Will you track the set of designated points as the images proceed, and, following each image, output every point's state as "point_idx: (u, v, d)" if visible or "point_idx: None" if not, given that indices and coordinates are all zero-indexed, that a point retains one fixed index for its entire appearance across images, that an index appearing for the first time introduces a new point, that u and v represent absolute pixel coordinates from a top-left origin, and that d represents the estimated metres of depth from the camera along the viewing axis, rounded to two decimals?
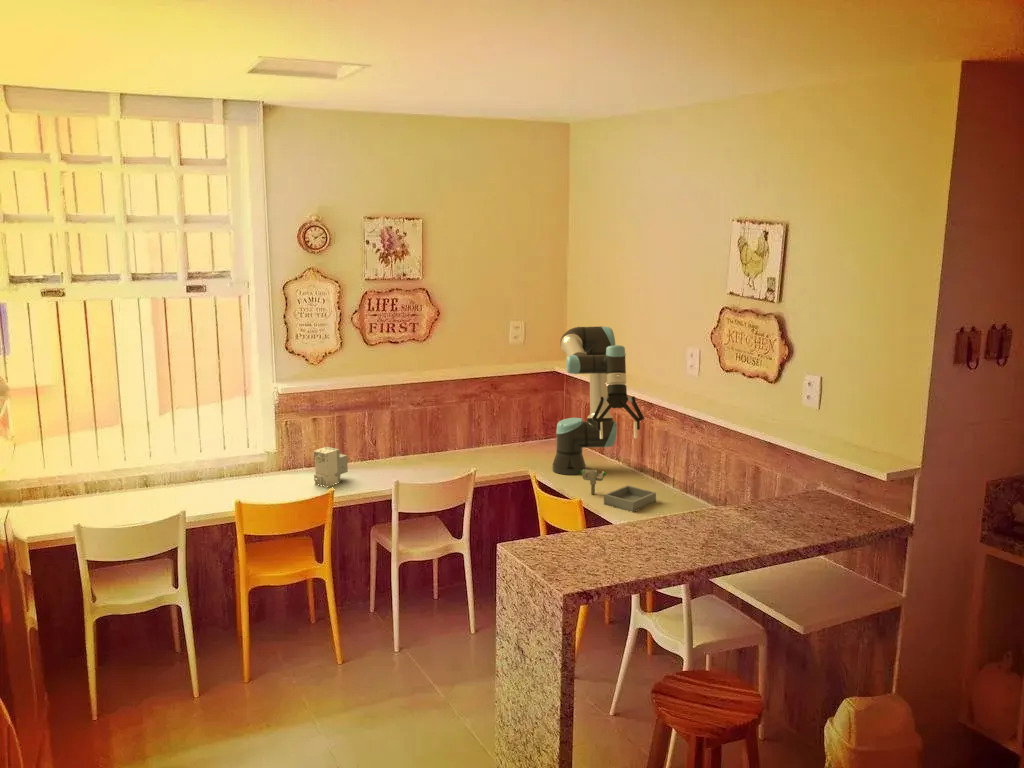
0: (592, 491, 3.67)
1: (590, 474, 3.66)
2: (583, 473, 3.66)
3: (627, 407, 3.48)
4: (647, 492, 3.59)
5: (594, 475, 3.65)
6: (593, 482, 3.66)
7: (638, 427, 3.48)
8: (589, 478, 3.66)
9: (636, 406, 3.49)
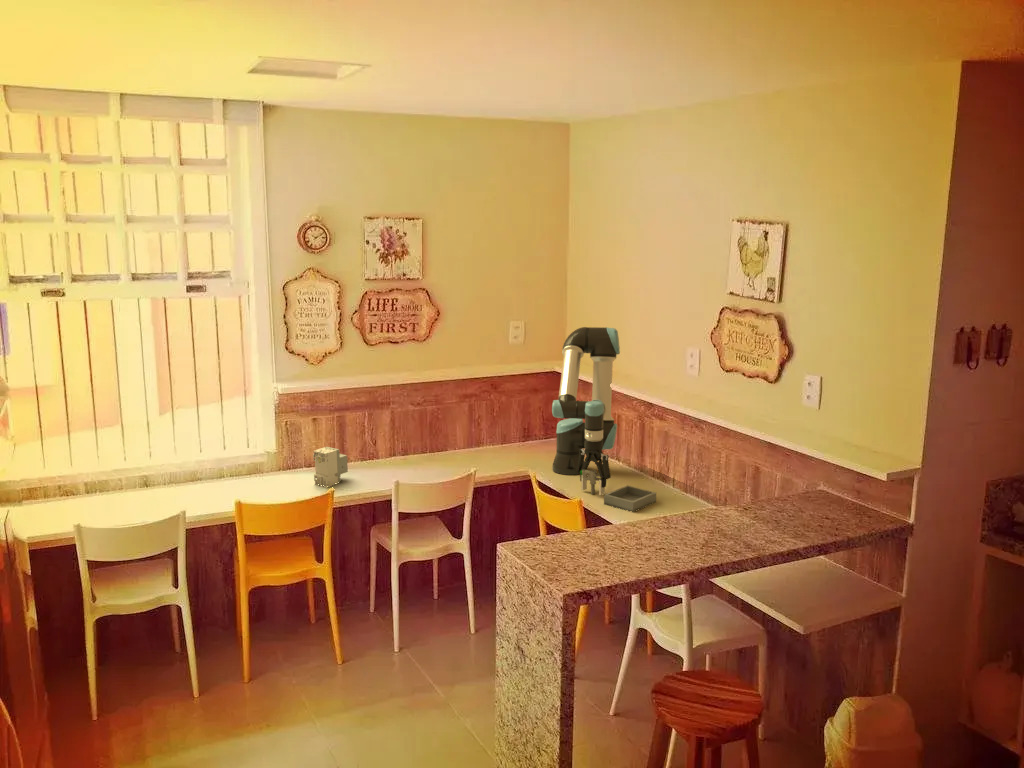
0: (592, 491, 3.67)
1: (590, 474, 3.66)
2: (583, 473, 3.66)
3: (596, 464, 3.63)
4: (647, 492, 3.59)
5: (594, 475, 3.65)
6: (593, 482, 3.66)
7: (603, 485, 3.63)
8: (589, 478, 3.66)
9: (604, 465, 3.61)
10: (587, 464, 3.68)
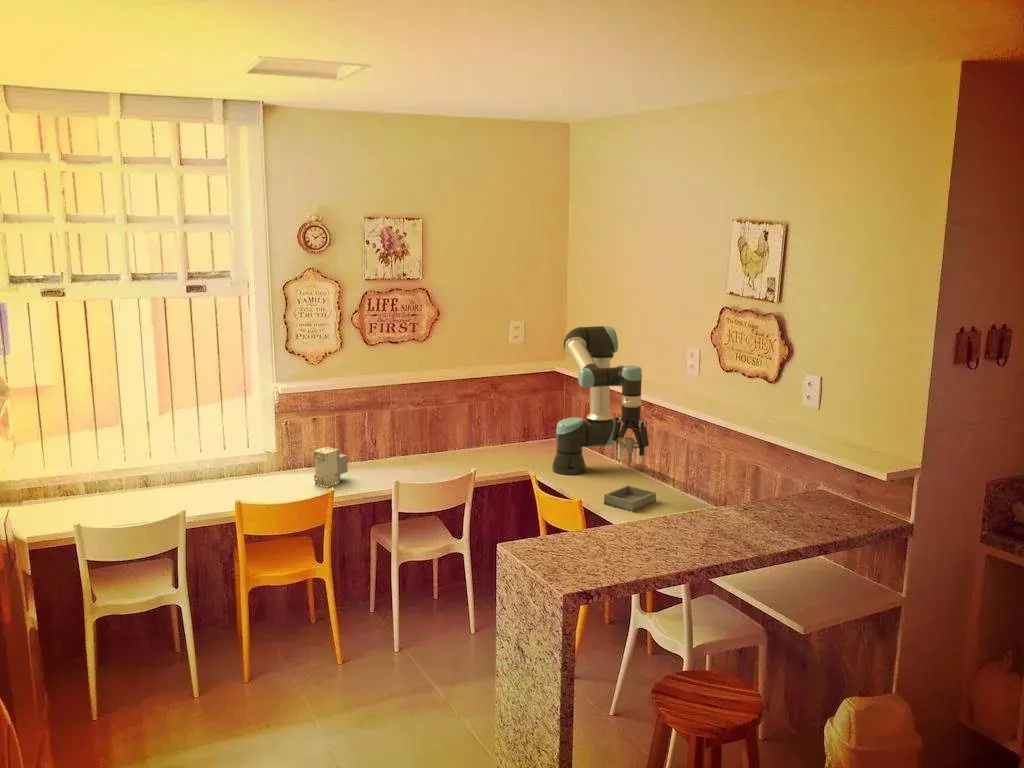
0: (629, 460, 3.53)
1: (627, 442, 3.51)
2: (619, 441, 3.52)
3: (634, 431, 3.48)
4: (647, 492, 3.59)
5: (631, 443, 3.51)
6: (630, 450, 3.52)
7: (640, 453, 3.49)
8: (626, 446, 3.52)
9: (642, 432, 3.46)
10: (624, 432, 3.53)
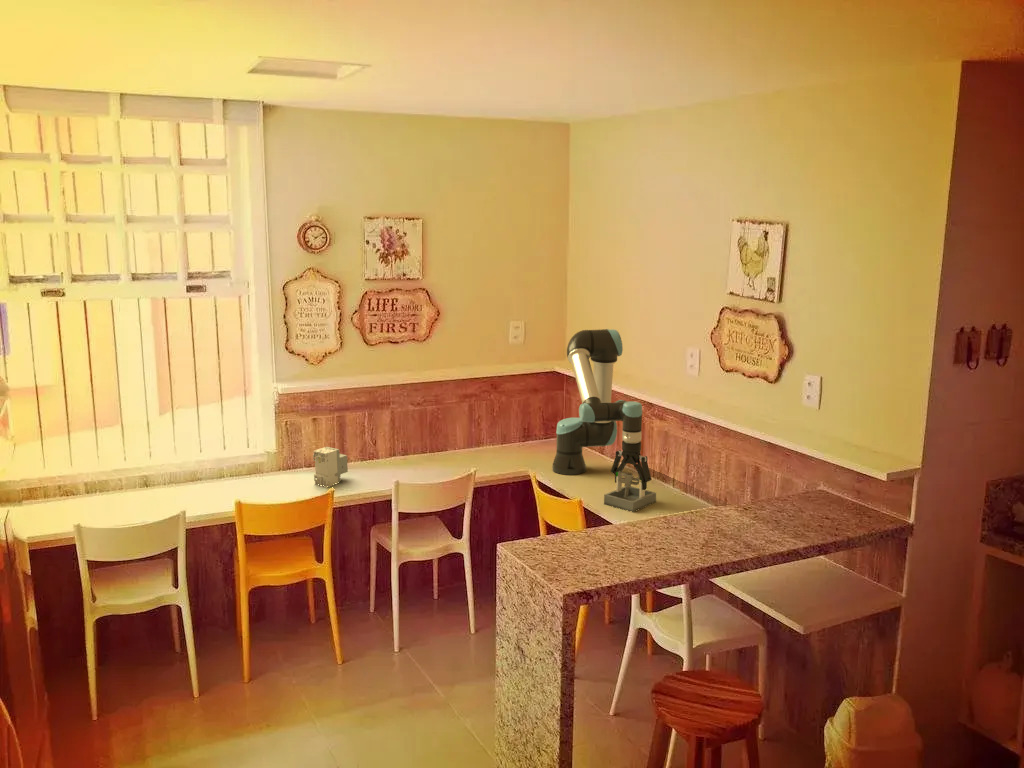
0: (626, 495, 3.57)
1: (626, 477, 3.55)
2: (619, 475, 3.55)
3: (635, 466, 3.51)
4: (647, 492, 3.59)
5: (630, 479, 3.54)
6: (628, 485, 3.55)
7: (643, 488, 3.51)
8: (624, 481, 3.55)
9: (643, 467, 3.49)
10: (623, 466, 3.57)
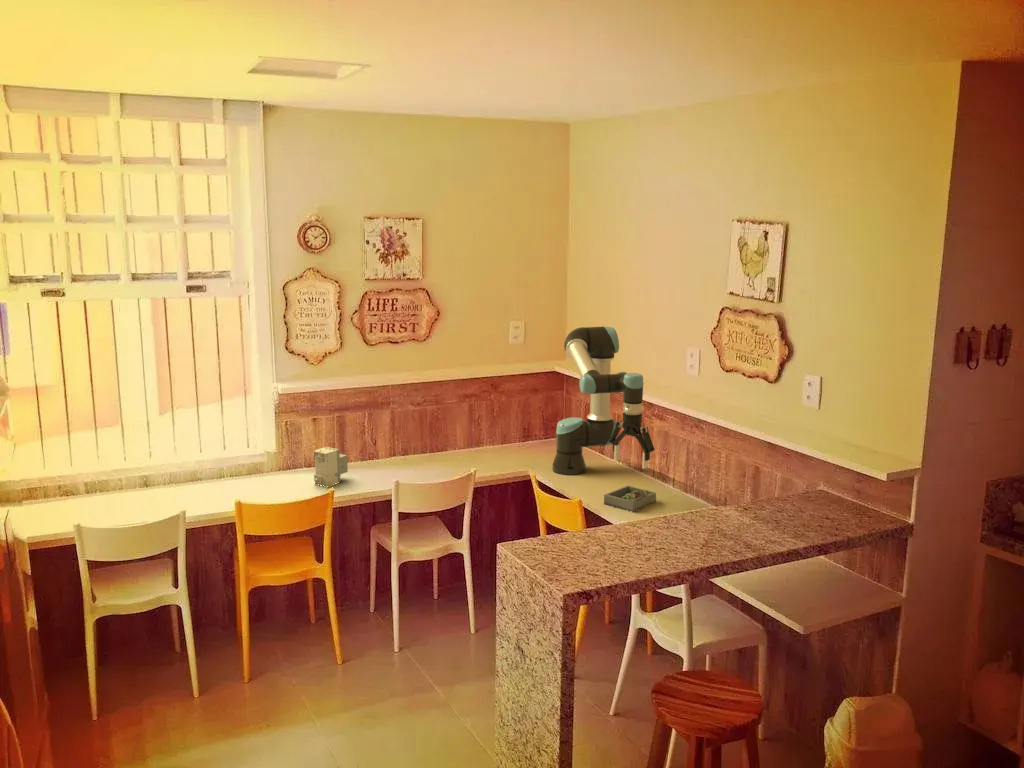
0: None
1: (635, 498, 3.50)
2: (630, 499, 3.48)
3: (637, 437, 3.48)
4: None
5: (638, 497, 3.51)
6: None
7: (646, 458, 3.48)
8: None
9: (645, 438, 3.46)
10: (622, 436, 3.55)
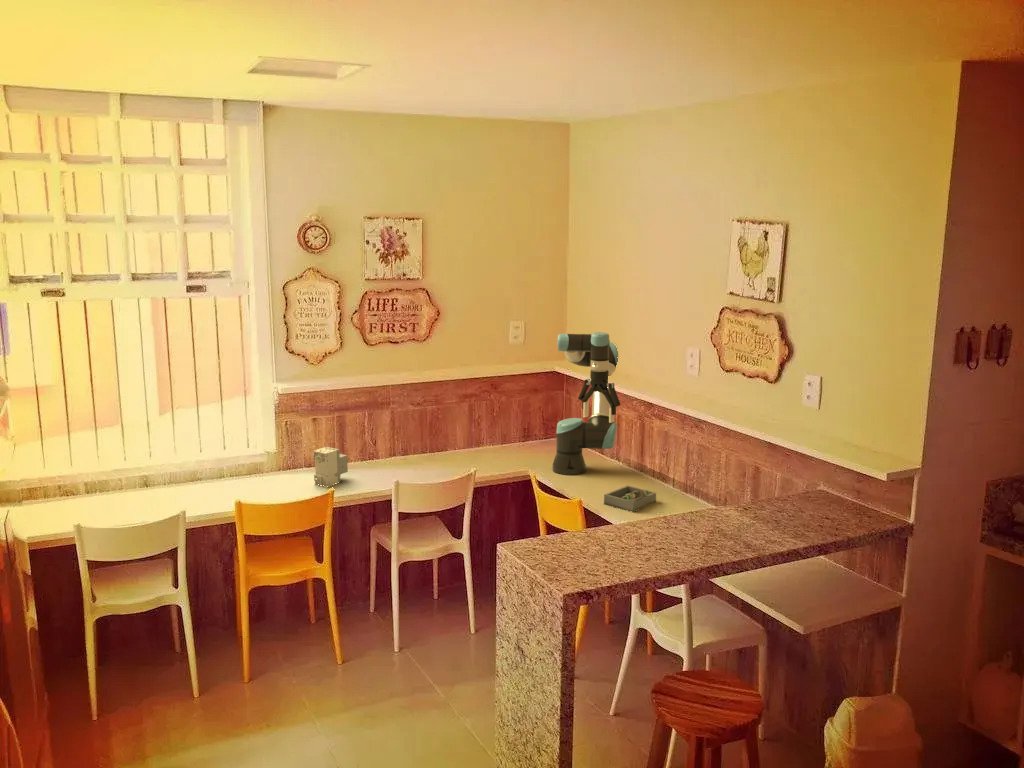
0: None
1: (635, 498, 3.50)
2: (630, 499, 3.48)
3: (604, 393, 3.68)
4: None
5: (638, 497, 3.51)
6: None
7: (612, 413, 3.68)
8: None
9: (611, 393, 3.66)
10: (591, 393, 3.75)
